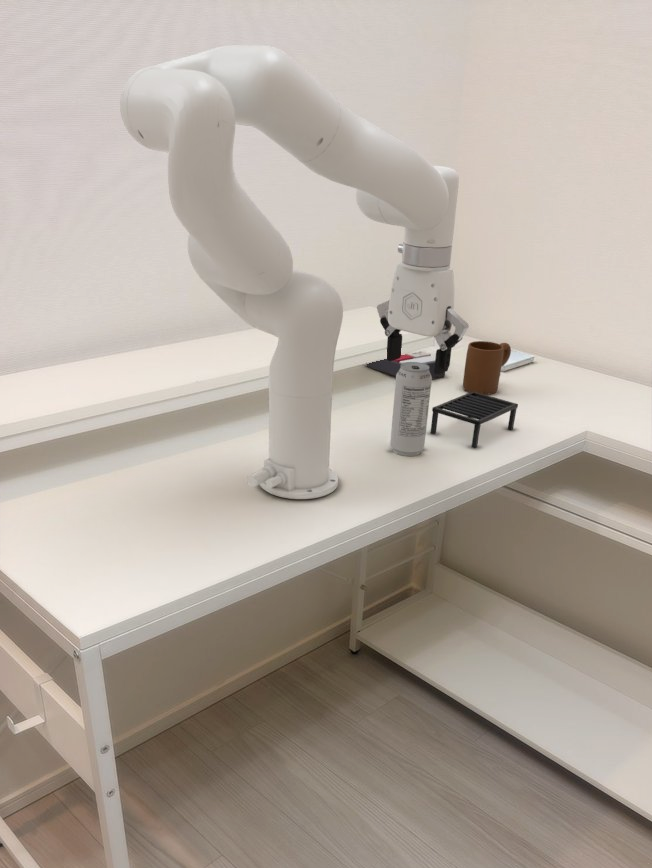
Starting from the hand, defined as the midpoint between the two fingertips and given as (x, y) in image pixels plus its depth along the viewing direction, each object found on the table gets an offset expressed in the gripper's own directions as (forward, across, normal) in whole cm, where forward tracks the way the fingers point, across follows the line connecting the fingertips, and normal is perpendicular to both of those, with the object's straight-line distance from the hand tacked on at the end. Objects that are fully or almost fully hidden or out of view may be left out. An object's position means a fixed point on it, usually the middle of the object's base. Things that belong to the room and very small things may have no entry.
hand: (416, 365), depth 134 cm
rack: (+15, +3, +16) cm, 23 cm away
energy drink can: (+15, 0, -1) cm, 15 cm away
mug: (+16, -9, +41) cm, 45 cm away
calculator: (+16, -28, +37) cm, 49 cm away
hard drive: (+16, -16, +61) cm, 65 cm away
